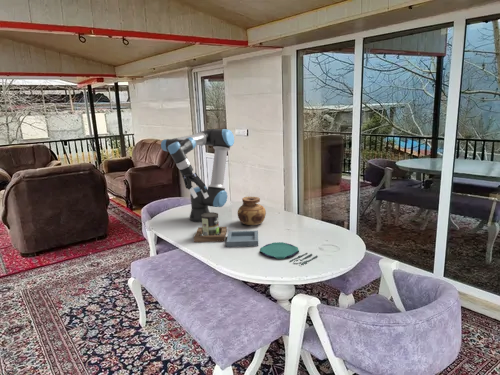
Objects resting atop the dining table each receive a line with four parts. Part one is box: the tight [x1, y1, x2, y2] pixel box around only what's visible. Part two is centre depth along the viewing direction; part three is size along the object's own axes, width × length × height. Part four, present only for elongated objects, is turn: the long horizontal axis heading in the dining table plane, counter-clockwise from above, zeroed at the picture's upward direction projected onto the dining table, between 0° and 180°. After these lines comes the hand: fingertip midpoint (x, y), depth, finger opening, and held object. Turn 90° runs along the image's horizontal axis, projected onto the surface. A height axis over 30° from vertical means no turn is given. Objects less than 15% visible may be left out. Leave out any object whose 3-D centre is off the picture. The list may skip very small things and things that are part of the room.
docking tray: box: [226, 230, 259, 248], centre depth 218 cm, size 18×18×3 cm
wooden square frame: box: [193, 226, 228, 243], centre depth 227 cm, size 18×18×3 cm
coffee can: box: [201, 211, 220, 236], centre depth 226 cm, size 10×10×14 cm
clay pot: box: [237, 196, 267, 226], centre depth 247 cm, size 19×19×20 cm
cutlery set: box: [259, 241, 319, 266], centre depth 196 cm, size 20×30×2 cm, turn 44°
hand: (201, 197), depth 225 cm, fingers open, 13 cm apart
